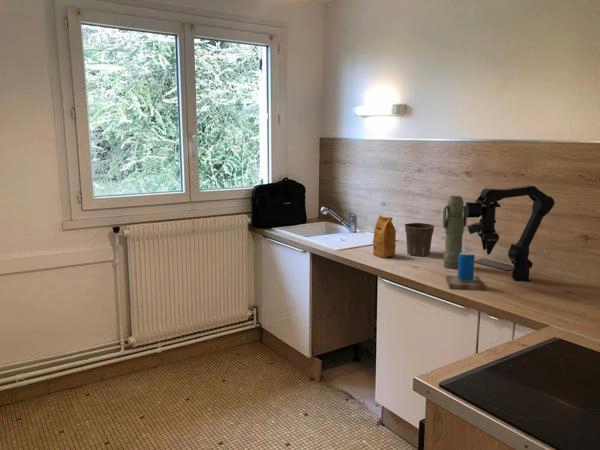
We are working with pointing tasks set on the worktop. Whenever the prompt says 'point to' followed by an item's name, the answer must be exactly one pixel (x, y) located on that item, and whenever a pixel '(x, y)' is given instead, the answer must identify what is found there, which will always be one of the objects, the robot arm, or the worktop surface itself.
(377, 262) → the worktop surface
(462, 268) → the beverage can
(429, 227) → the plant pot
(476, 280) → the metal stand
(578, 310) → the worktop surface
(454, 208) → the thermos
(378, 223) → the coffee package
